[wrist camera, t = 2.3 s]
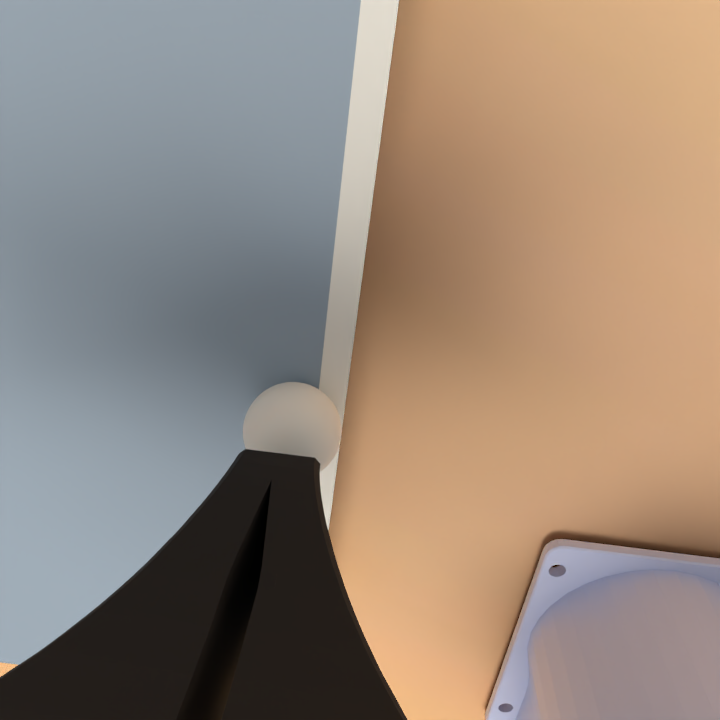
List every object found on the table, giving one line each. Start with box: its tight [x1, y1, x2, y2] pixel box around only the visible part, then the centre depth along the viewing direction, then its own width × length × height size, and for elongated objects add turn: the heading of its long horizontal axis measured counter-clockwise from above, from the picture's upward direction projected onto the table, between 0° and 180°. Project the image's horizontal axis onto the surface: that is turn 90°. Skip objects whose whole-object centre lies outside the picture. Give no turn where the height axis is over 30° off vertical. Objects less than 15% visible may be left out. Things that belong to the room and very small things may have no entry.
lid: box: [0, 0, 399, 664], centre depth 14 cm, size 20×14×3 cm
